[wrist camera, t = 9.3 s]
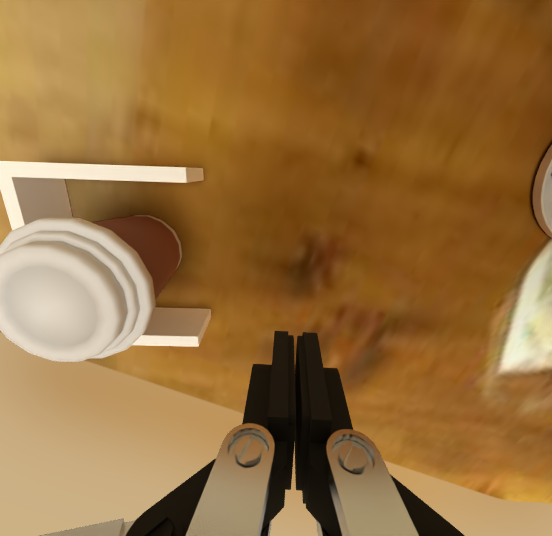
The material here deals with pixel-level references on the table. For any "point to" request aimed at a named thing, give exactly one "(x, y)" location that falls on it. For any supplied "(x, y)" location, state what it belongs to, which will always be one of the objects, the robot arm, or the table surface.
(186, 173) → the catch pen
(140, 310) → the coffee cup
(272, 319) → the table surface
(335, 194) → the table surface
